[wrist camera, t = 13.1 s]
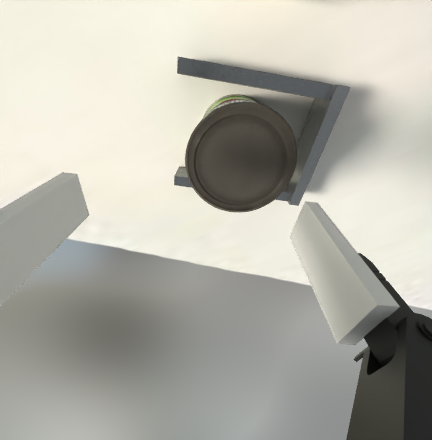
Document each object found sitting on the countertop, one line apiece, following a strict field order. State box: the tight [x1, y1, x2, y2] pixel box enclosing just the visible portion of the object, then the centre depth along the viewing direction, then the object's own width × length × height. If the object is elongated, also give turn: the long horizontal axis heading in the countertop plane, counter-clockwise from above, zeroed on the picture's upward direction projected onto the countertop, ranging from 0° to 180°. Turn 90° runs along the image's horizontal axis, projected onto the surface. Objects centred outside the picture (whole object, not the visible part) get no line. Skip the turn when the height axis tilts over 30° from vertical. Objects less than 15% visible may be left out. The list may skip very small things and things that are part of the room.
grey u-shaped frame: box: [174, 57, 350, 206], centre depth 28 cm, size 16×20×5 cm
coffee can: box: [185, 95, 297, 212], centre depth 24 cm, size 10×10×14 cm
